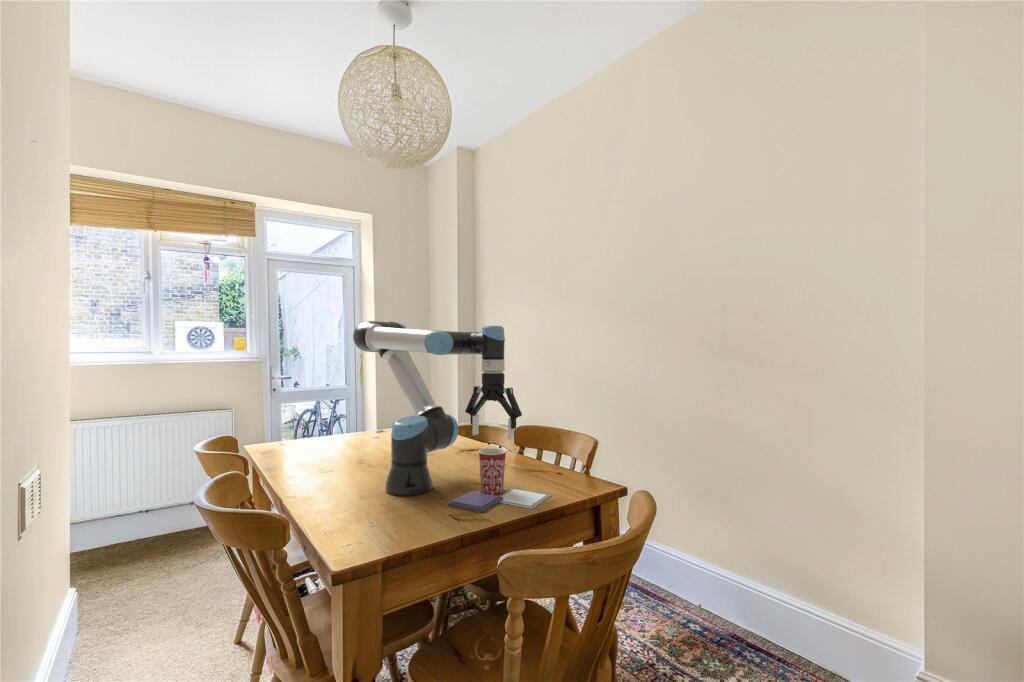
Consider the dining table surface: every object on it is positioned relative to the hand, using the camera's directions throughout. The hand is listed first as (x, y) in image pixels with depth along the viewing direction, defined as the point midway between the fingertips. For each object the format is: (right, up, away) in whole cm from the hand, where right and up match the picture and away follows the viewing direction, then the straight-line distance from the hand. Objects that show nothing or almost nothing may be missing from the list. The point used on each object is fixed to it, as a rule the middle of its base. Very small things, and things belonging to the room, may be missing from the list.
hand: (492, 436), depth 153 cm
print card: (+9, -18, -7) cm, 21 cm away
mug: (0, -18, 0) cm, 18 cm away
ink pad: (-5, -18, -12) cm, 22 cm away
